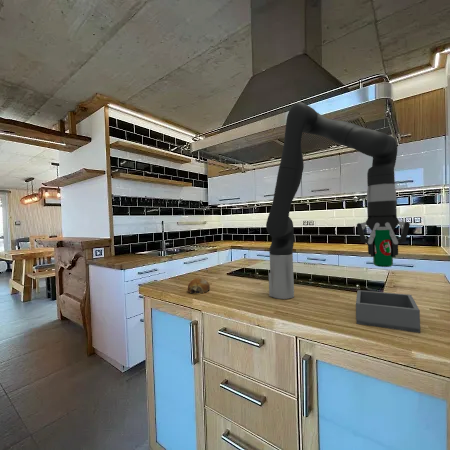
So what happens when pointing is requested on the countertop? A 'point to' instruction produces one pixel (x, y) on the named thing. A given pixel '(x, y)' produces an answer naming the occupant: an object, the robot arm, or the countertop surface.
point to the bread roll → (198, 285)
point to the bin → (387, 310)
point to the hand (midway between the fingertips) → (382, 256)
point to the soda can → (382, 248)
